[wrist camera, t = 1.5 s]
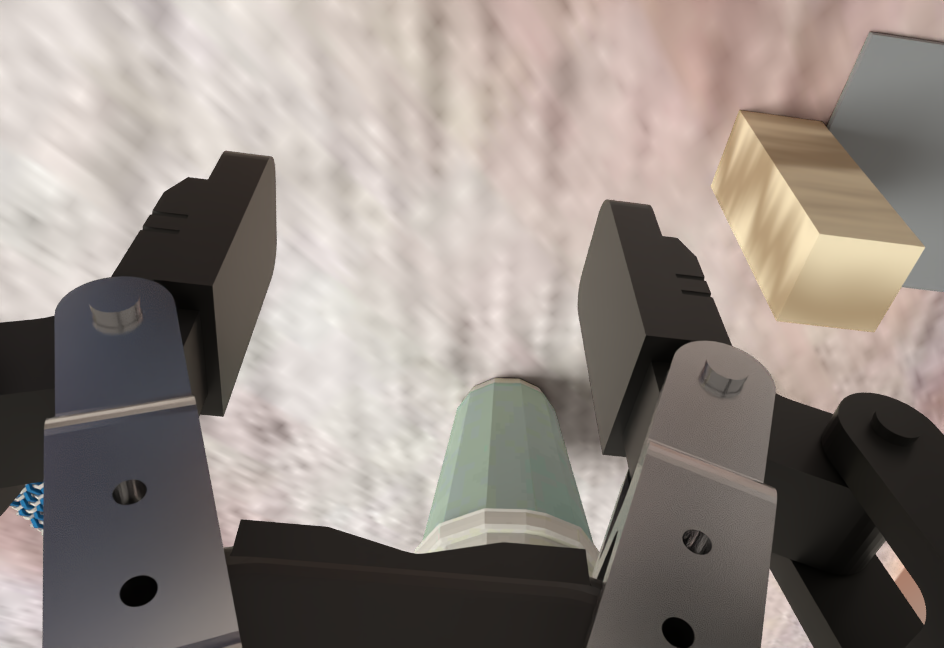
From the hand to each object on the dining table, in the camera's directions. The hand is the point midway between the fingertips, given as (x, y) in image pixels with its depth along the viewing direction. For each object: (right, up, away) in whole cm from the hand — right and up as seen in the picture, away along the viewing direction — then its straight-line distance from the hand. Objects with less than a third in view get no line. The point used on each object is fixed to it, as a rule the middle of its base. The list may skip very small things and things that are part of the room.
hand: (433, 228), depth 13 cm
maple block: (+16, +8, +29) cm, 34 cm away
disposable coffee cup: (+3, -7, +41) cm, 42 cm away
